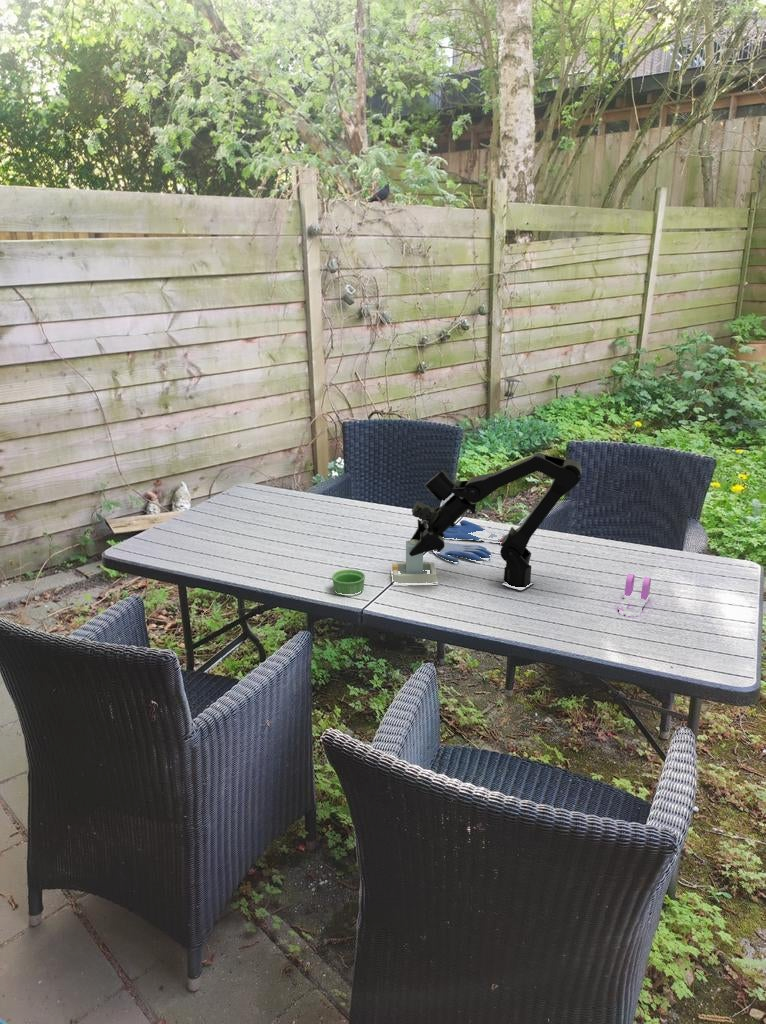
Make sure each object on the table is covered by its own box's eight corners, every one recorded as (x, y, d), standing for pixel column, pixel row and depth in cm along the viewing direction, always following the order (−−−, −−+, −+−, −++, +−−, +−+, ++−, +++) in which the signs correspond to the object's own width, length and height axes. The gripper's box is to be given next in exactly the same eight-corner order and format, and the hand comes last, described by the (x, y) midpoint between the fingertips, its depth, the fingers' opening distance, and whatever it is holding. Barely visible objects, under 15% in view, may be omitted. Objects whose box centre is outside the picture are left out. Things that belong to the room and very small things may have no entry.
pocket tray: (435, 570, 206) (435, 557, 204) (438, 585, 196) (439, 572, 195) (390, 571, 205) (390, 558, 204) (391, 586, 196) (391, 573, 194)
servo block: (426, 573, 203) (427, 537, 199) (428, 579, 198) (428, 543, 195) (400, 573, 203) (400, 538, 199) (401, 579, 198) (401, 544, 195)
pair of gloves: (480, 571, 206) (481, 560, 205) (402, 555, 218) (402, 544, 217) (516, 537, 233) (517, 526, 232) (445, 524, 244) (445, 514, 243)
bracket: (626, 595, 191) (629, 571, 188) (648, 599, 188) (651, 575, 186) (615, 614, 180) (618, 589, 178) (637, 619, 177) (641, 594, 175)
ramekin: (328, 586, 196) (327, 572, 195) (359, 581, 199) (358, 567, 198) (337, 600, 188) (337, 584, 187) (369, 594, 191) (369, 579, 190)
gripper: (426, 483, 201) (387, 520, 205) (432, 503, 184) (390, 544, 187) (453, 509, 204) (414, 545, 207) (462, 531, 187) (419, 571, 190)
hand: (409, 550), depth 198 cm, fingers open, 6 cm apart
